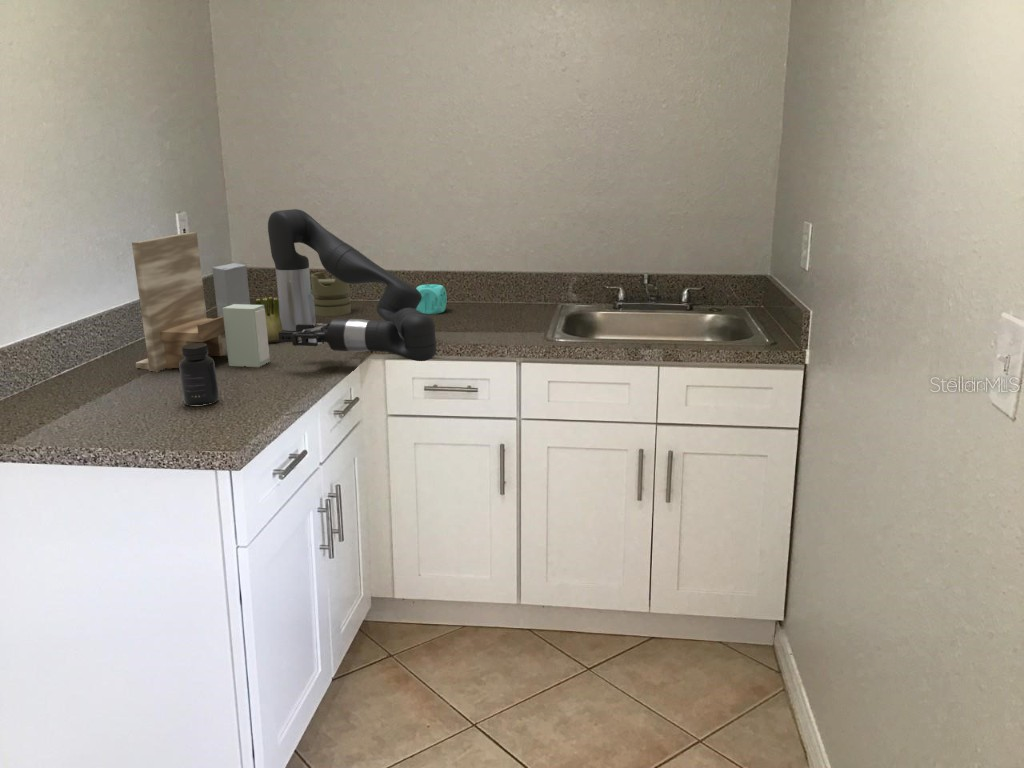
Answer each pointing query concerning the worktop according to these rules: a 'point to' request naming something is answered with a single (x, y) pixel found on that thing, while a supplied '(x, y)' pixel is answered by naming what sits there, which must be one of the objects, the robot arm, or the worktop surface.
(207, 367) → the supplement bottle
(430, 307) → the decorative dice
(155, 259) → the wooden display stand
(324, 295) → the piston
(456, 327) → the worktop surface
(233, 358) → the cabinet
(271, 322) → the fennel bulb
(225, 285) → the skincare box
